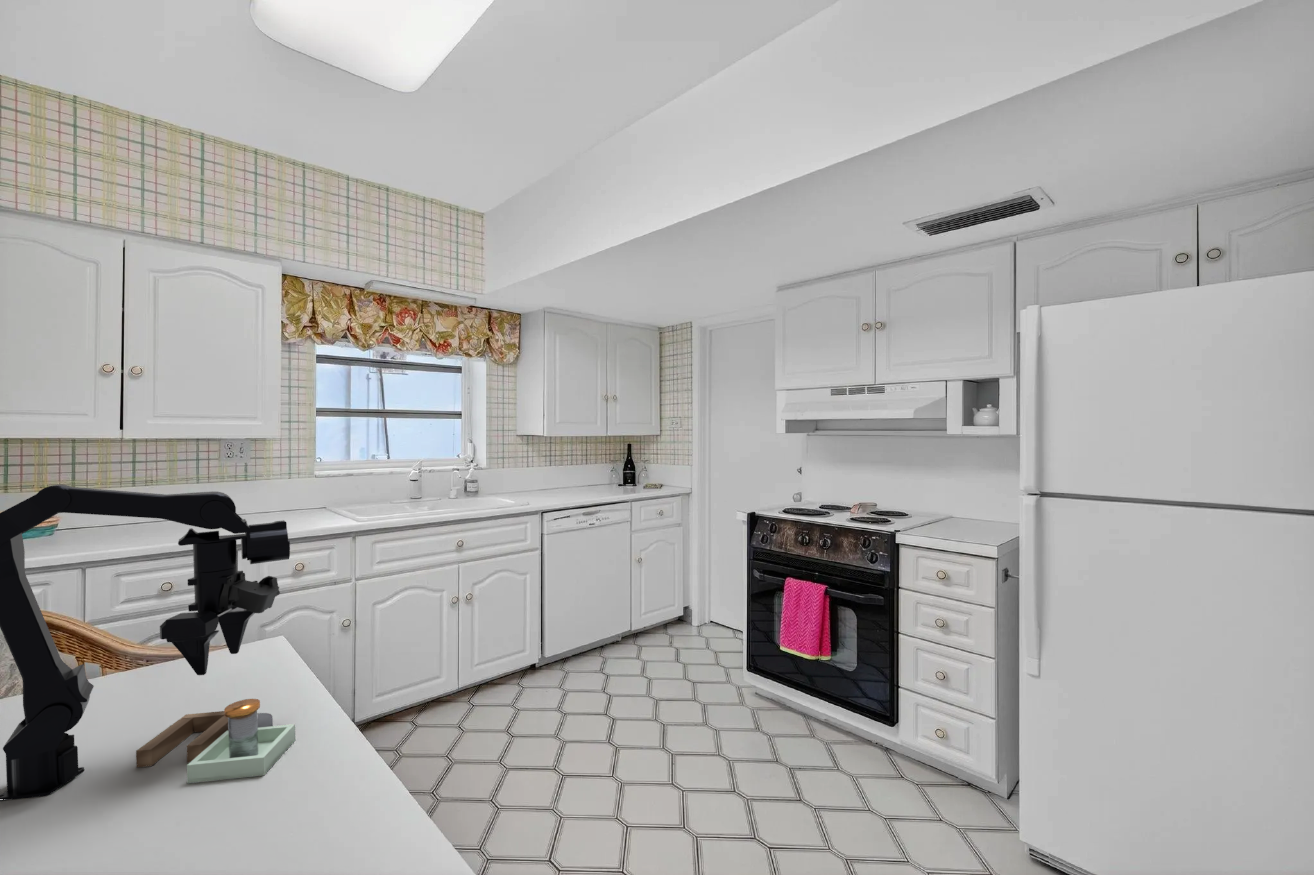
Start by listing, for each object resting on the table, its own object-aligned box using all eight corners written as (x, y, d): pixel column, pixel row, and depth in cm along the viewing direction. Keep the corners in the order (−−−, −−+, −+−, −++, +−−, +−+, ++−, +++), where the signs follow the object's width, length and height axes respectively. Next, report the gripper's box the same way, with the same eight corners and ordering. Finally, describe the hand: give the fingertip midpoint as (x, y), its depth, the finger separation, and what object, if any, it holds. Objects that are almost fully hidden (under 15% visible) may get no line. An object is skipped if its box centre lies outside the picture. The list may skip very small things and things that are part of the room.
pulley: (220, 747, 93) (219, 727, 93) (240, 729, 99) (240, 710, 99) (261, 743, 94) (261, 723, 94) (279, 725, 100) (279, 706, 100)
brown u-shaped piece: (136, 767, 88) (136, 750, 88) (186, 729, 100) (186, 714, 100) (201, 760, 90) (201, 744, 90) (243, 723, 101) (242, 709, 101)
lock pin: (219, 765, 87) (217, 713, 87) (237, 749, 91) (235, 699, 91) (251, 763, 87) (249, 710, 87) (267, 747, 92) (265, 697, 92)
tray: (187, 783, 84) (186, 765, 84) (227, 746, 94) (226, 730, 94) (264, 775, 85) (263, 757, 85) (295, 740, 95) (295, 724, 95)
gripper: (238, 579, 89) (241, 682, 89) (294, 554, 107) (297, 640, 107) (155, 584, 87) (159, 689, 87) (227, 558, 106) (230, 645, 106)
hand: (218, 663), depth 97 cm, fingers open, 9 cm apart
